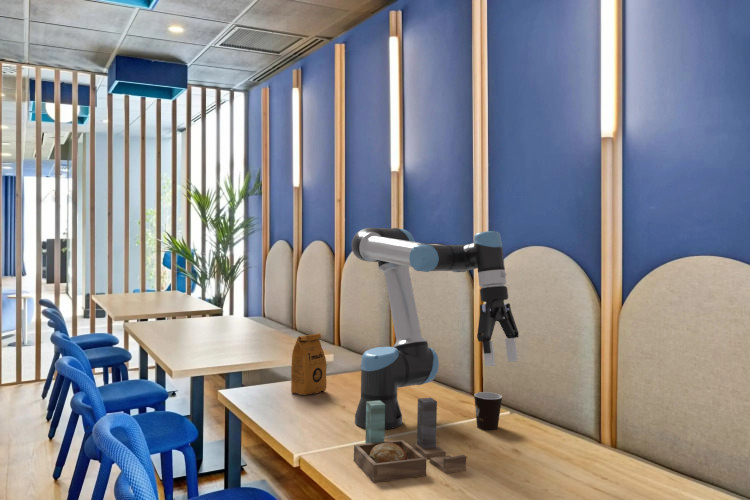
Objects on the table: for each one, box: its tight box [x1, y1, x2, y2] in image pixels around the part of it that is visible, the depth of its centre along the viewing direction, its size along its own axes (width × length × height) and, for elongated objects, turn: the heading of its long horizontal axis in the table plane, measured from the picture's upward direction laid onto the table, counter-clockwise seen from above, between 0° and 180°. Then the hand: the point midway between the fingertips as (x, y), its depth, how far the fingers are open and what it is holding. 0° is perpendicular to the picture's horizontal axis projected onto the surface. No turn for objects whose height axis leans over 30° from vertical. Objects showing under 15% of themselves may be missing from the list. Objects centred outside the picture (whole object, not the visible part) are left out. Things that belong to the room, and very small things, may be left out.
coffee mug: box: [473, 391, 503, 431], centre depth 194 cm, size 12×9×10 cm
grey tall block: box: [412, 397, 447, 459], centre depth 169 cm, size 8×6×14 cm
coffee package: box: [290, 332, 327, 396], centre depth 230 cm, size 10×12×22 cm
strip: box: [429, 454, 467, 475], centre depth 159 cm, size 8×6×4 cm
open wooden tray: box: [353, 401, 428, 483], centre depth 159 cm, size 20×14×14 cm
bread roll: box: [369, 443, 408, 463], centre depth 157 cm, size 10×10×8 cm
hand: (501, 363), depth 168 cm, fingers open, 13 cm apart
